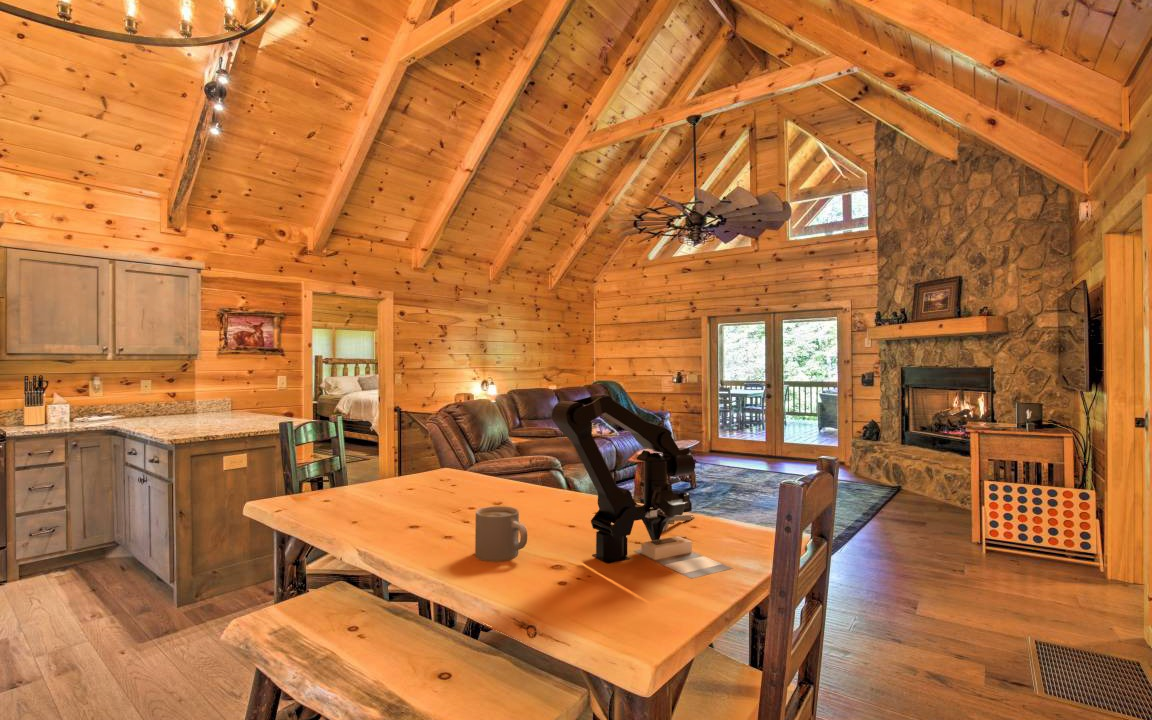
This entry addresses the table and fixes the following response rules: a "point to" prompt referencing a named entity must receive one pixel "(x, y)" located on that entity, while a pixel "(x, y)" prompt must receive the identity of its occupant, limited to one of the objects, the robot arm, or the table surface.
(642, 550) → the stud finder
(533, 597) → the table surface
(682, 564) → the subfloor panel
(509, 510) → the coffee mug
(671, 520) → the caliper
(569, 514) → the table surface
